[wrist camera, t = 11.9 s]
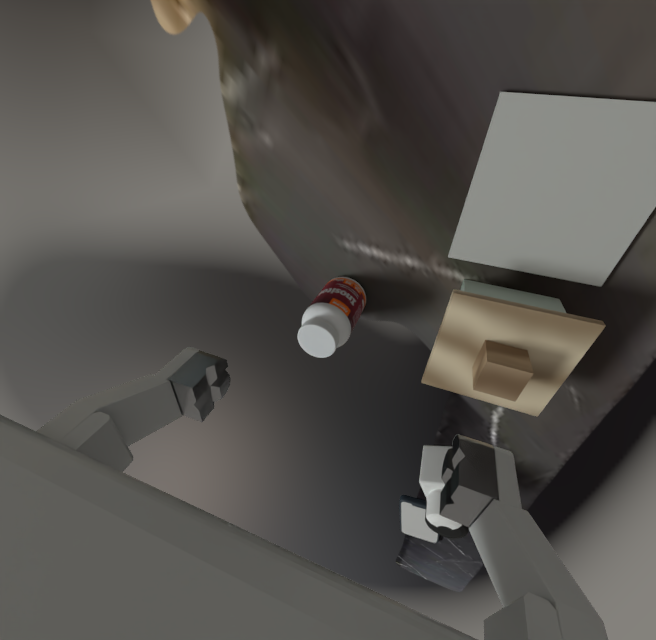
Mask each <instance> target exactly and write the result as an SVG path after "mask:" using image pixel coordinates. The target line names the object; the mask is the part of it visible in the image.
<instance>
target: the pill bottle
mask: <svg viewBox="0 0 656 640" xmlns="http://www.w3.org/2000/svg"><path fill="white" fill-rule="evenodd" d="M365 304H366V294H365V291H364V289H363V288H362V286H361V285H360V284H359V283H358V282H357V281H355V280H353V279H351V278H348V277H337V278H334V279H332V280H330V281H329V282H328V283H327V284H326V285H325V287H324V288H323V289H322V290H321V292H320V293H319V294H318V296H317V297H316V298H315V299H314V301H313V302H312V303H311V305H310V306H309V307H308V308H307V310H306V311H305V313H304V315H303V318H302V327H301V328H300V330H299V332H298V342H299V344H300V345H301V347H302V348H303V349H304V350H305V351H306V352H307V353H308V354H310V355H312V356H315V357H319V358H324V357H328V356H330V355H332V354H333V353H334V351H335V350H336V348H337V347H339V346H341V345H343V344H344V343H345V342H346V341H347V340H348V338H349V336H350V335H351V332H352V331H353V329H354V327H355V325H356V323H357V321H358V319H359V317H360V315H361V313H362V311H363V309H364V307H365Z"/></svg>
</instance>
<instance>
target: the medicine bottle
mask: <svg viewBox="0 0 656 640" xmlns="http://www.w3.org/2000/svg"><path fill="white" fill-rule="evenodd" d="M450 448H452V446H433V445H432V446H431V445H425V446H424V447H423V454H422V463H421V471H420V481H419V482H420V485H421V487H422V489H423V491H424V494H425V496H426V498H427V502H426V512H425V522H426V524H427V525H428V527H429V528H430V529H431V530H433V531H434V532H436V533H437V534H439V535H442V536H444V537H448V538H462V537H464V536H465V535H466V534H467V533H468V527H467V526H464V525H462V524H460V523H457V522H455V521H453V520H450V519H448V518H445V517H443V516H441V515H439V514H440V493H441V491H442V489H443V488H444V486H445V484H444V482H443V481H442V479H441V476H442V466H443V461H444V458H445V455H446V453H447V451H448V449H450Z"/></svg>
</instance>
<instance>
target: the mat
mask: <svg viewBox="0 0 656 640" xmlns="http://www.w3.org/2000/svg"><path fill="white" fill-rule="evenodd" d="M655 207H656V102H646V101H631V100H616V99H601V98H586V97H572V96H557V95H542V94H527V93H512V92H500V95H499V98H498V101H497V104H496V107H495V110H494V113H493V117H492V120H491V123H490V126H489V129H488V132H487V135H486V139H485V142H484V145H483V148H482V151H481V154H480V157H479V161H478V164H477V167H476V170H475V173H474V176H473V179H472V183H471V186H470V189H469V192H468V195H467V198H466V201H465V205H464V208H463V211H462V214H461V217H460V220H459V223H458V227H457V230H456V233H455V236H454V239H453V242H452V245H451V248H450V252H449V255H448V257H450V258H455V259H461V260H466V261H471V262H476V263H481V264H486V265H491V266H497V267H502V268H507V269H512V270H517V271H522V272H528V273H533V274H538V275H543V276H548V277H553V278H559V279H564V280H569V281H574V282H579V283H584V284H589V285H595V286H600V287H601V286H602V285H603V283H604V282H605V280H606V279H607V277H608V276H609V274H610V273H611V272H612V270H613V269H614V267H615V266H616V264H617V263H618V261H619V260H620V258H621V257H622V255H623V254H624V252H625V251H626V250H627V248H628V247H629V245H630V244H631V242H632V241H633V239H634V238H635V236H636V235H637V233H638V232H639V230H640V229H641V228H642V226H643V225H644V223H645V222H646V220H647V219H648V217H649V216H650V214H651V213H652V211H653V210H654V208H655Z"/></svg>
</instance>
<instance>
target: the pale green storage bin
mask: <svg viewBox="0 0 656 640" xmlns="http://www.w3.org/2000/svg"><path fill="white" fill-rule="evenodd" d="M460 291H465V292H470V293H474V294H479V295H484V296H488V297H493V298H498V299H502V300H507V301H512V302H516V303H521V304H526V305H530V306H535V307H540V308H544V309H549V310H554V311H558V312H563V313H566V311H565V309H564V307H563V305H562V303H561V301H560V299H557V298H553V297H548V296H543V295H538V294H533V293H529V292H524V291H519V290H514V289H509V288H504V287H500V286H495V285H490V284H485V283H480V282H476V281H471V280H466V279H464V281H463V283H462V286H461V289H460Z"/></svg>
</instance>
